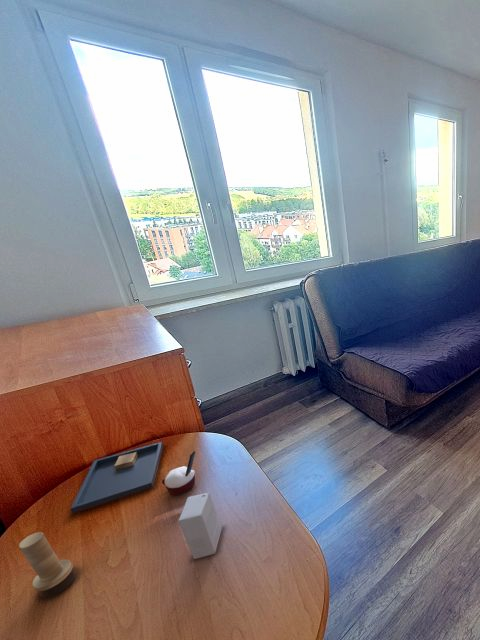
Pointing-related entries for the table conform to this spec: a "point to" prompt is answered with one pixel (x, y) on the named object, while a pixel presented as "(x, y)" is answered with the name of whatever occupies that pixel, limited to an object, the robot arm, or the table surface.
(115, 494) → the tray
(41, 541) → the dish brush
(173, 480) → the cocoa
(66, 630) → the table surface
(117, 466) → the cork chip
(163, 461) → the table surface
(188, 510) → the cosmetic box
